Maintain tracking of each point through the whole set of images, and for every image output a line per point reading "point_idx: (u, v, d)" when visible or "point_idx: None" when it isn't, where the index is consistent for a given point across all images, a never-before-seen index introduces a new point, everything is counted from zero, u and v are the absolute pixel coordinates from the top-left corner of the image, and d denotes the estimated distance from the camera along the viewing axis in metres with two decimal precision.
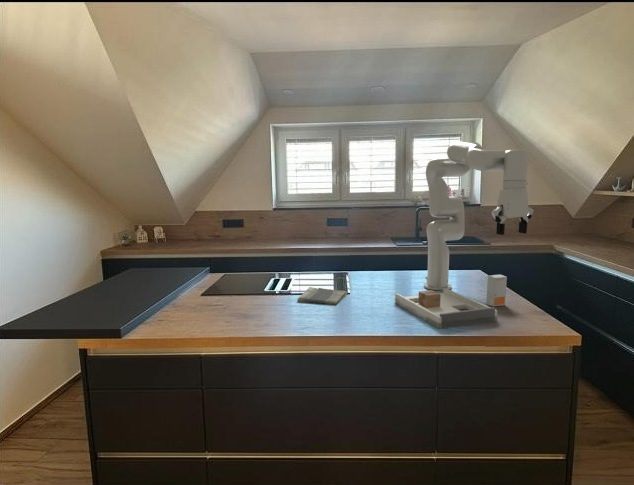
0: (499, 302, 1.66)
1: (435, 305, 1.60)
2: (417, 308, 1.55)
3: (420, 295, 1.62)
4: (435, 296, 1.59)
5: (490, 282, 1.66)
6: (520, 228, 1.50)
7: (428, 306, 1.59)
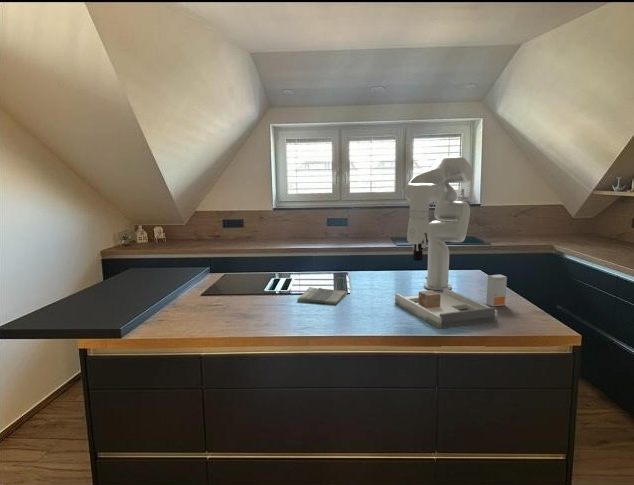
0: (499, 302, 1.66)
1: (435, 305, 1.60)
2: (417, 308, 1.55)
3: (420, 295, 1.62)
4: (435, 296, 1.59)
5: (490, 282, 1.66)
6: None
7: (428, 306, 1.59)
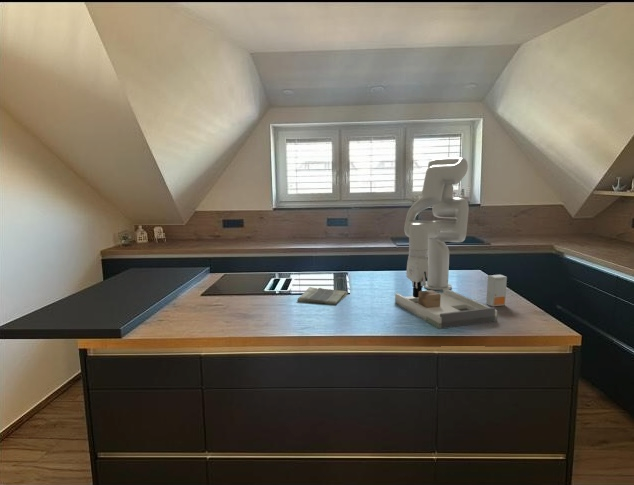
0: (499, 302, 1.66)
1: (435, 305, 1.60)
2: (417, 308, 1.55)
3: (420, 295, 1.62)
4: (435, 296, 1.59)
5: (490, 282, 1.66)
6: None
7: (428, 306, 1.59)
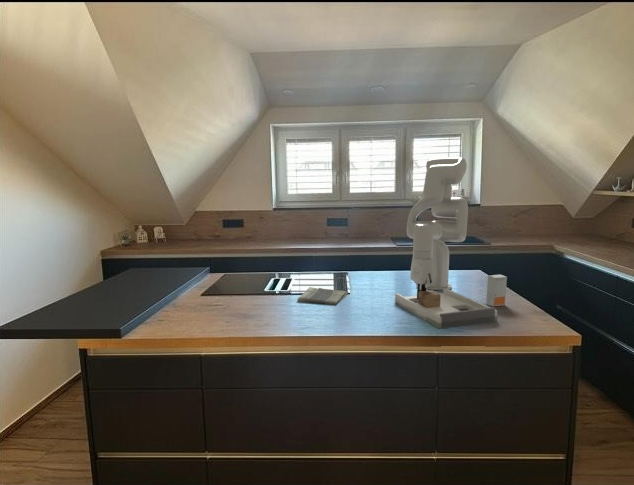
0: (499, 302, 1.66)
1: (435, 305, 1.60)
2: (417, 308, 1.55)
3: (420, 295, 1.62)
4: (435, 296, 1.59)
5: (490, 282, 1.66)
6: None
7: (428, 306, 1.59)
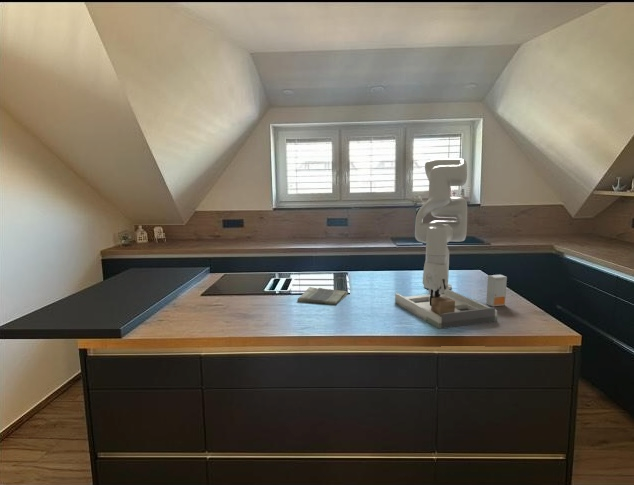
0: (499, 302, 1.66)
1: None
2: (417, 308, 1.55)
3: (433, 302, 1.53)
4: (450, 303, 1.50)
5: (490, 282, 1.66)
6: None
7: None
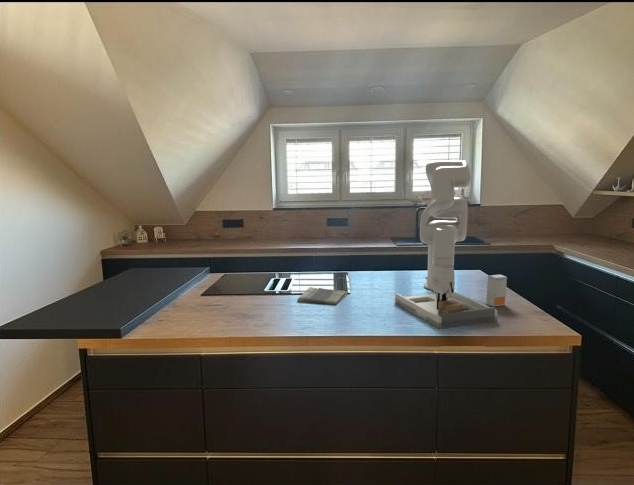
0: (499, 302, 1.66)
1: None
2: (417, 308, 1.55)
3: (440, 305, 1.49)
4: (457, 307, 1.46)
5: (490, 282, 1.66)
6: None
7: None
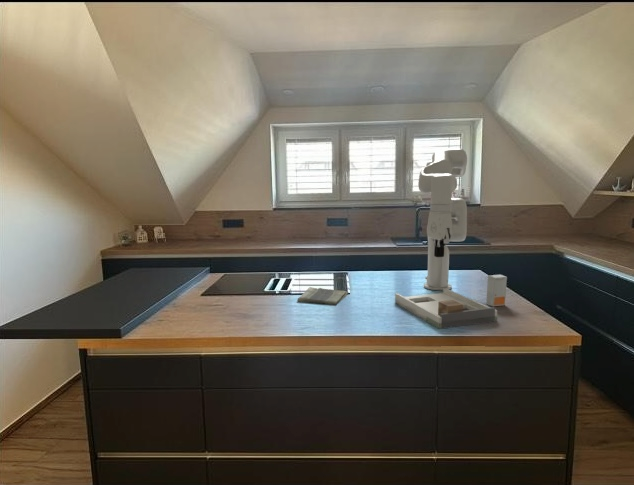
0: (499, 302, 1.66)
1: None
2: (417, 308, 1.55)
3: (440, 305, 1.49)
4: (457, 307, 1.46)
5: (490, 282, 1.66)
6: None
7: None
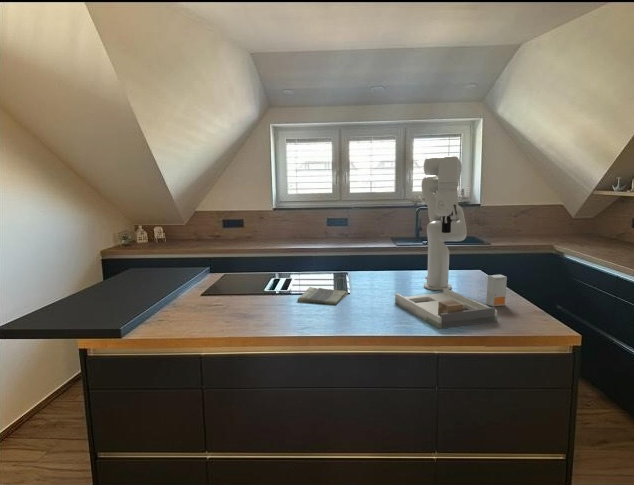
0: (499, 302, 1.66)
1: None
2: (417, 308, 1.55)
3: (440, 305, 1.49)
4: (457, 307, 1.46)
5: (490, 282, 1.66)
6: None
7: None
